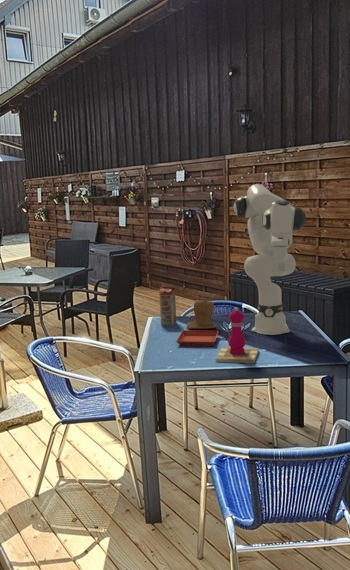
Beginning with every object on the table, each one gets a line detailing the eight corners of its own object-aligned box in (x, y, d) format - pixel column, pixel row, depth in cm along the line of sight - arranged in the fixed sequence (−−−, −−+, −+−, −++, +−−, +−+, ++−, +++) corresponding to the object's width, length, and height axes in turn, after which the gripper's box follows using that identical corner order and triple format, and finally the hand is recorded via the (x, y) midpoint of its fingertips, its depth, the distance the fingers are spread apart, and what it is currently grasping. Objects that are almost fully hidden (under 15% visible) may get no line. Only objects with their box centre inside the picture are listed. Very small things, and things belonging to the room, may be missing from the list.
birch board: (222, 350, 229) (222, 346, 229) (258, 351, 224) (258, 348, 224) (215, 361, 214) (215, 357, 213) (253, 363, 209) (253, 359, 209)
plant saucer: (215, 348, 234) (214, 341, 233) (176, 347, 237) (176, 340, 236) (218, 337, 251) (218, 330, 251) (182, 336, 255) (182, 330, 254)
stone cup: (215, 325, 273) (214, 297, 271) (216, 330, 262) (215, 302, 259) (187, 325, 274) (186, 298, 272) (186, 331, 262) (185, 303, 260)
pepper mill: (234, 349, 224) (233, 304, 220) (248, 351, 219) (248, 306, 216) (225, 353, 218) (224, 307, 215) (239, 356, 214) (239, 309, 210)
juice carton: (164, 321, 284) (163, 283, 280) (176, 322, 282) (174, 283, 278) (160, 324, 278) (159, 285, 274) (172, 325, 276) (170, 285, 272)
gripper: (276, 237, 226) (276, 268, 228) (271, 242, 206) (271, 275, 209) (290, 237, 224) (290, 268, 226) (287, 241, 205) (287, 276, 207)
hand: (281, 272), depth 217 cm, fingers open, 8 cm apart
